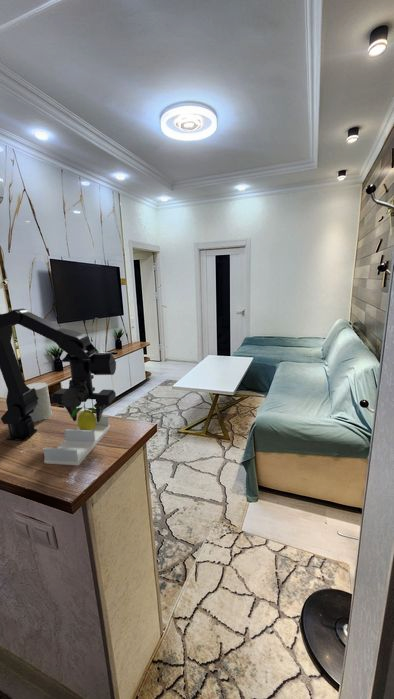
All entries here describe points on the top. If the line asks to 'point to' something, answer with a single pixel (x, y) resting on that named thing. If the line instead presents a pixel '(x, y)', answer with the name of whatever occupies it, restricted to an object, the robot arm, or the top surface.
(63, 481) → the top surface
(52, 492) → the top surface
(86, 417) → the lemon
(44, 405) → the cup
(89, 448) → the white divided tray
